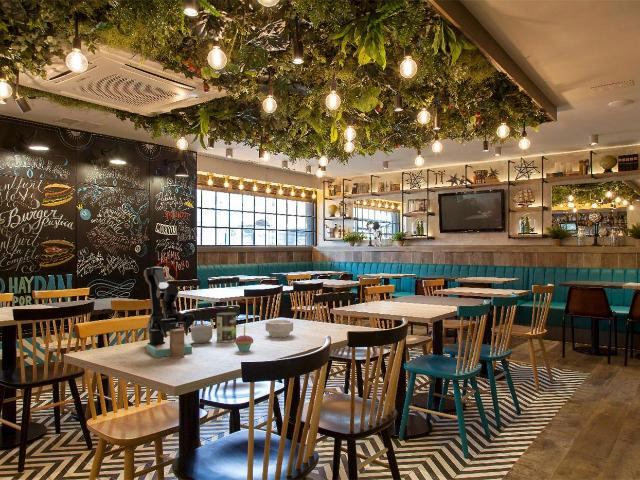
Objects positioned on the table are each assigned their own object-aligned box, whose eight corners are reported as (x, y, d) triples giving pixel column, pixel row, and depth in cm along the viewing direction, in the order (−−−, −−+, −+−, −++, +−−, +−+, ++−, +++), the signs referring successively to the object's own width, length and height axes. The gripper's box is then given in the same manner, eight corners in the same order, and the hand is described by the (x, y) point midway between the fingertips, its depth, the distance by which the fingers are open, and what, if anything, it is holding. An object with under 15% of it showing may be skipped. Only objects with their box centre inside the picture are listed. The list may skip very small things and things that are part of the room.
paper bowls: (298, 335, 262) (298, 320, 262) (282, 339, 249) (282, 324, 249) (276, 332, 270) (276, 318, 270) (259, 336, 257) (259, 322, 258)
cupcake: (236, 348, 227) (235, 323, 227) (253, 348, 228) (253, 323, 228) (234, 352, 218) (234, 326, 218) (252, 352, 219) (252, 326, 219)
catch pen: (146, 351, 223) (146, 344, 223) (181, 346, 232) (181, 340, 232) (155, 357, 210) (155, 350, 210) (192, 352, 219) (191, 346, 219)
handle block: (169, 356, 212) (169, 329, 212) (180, 355, 214) (180, 328, 215) (172, 358, 207) (172, 331, 208) (184, 357, 210) (184, 330, 210)
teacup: (206, 344, 237) (206, 328, 237) (186, 344, 239) (186, 328, 239) (218, 339, 251) (218, 324, 251) (199, 338, 253) (199, 323, 253)
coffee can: (240, 339, 252) (240, 312, 252) (230, 342, 242) (230, 315, 242) (223, 338, 255) (222, 311, 255) (212, 341, 245) (212, 314, 245)
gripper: (185, 318, 231) (193, 344, 221) (145, 321, 220) (151, 349, 211) (190, 303, 224) (198, 329, 215) (149, 306, 214) (156, 334, 205)
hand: (176, 336), depth 211 cm, fingers open, 9 cm apart
